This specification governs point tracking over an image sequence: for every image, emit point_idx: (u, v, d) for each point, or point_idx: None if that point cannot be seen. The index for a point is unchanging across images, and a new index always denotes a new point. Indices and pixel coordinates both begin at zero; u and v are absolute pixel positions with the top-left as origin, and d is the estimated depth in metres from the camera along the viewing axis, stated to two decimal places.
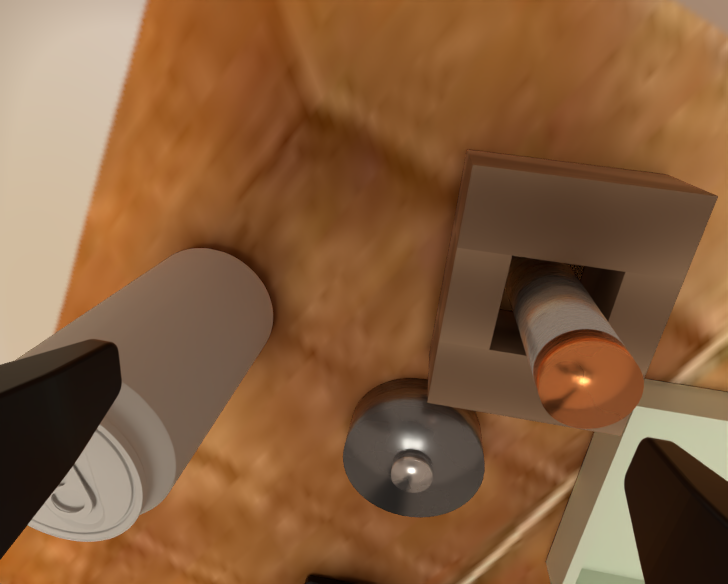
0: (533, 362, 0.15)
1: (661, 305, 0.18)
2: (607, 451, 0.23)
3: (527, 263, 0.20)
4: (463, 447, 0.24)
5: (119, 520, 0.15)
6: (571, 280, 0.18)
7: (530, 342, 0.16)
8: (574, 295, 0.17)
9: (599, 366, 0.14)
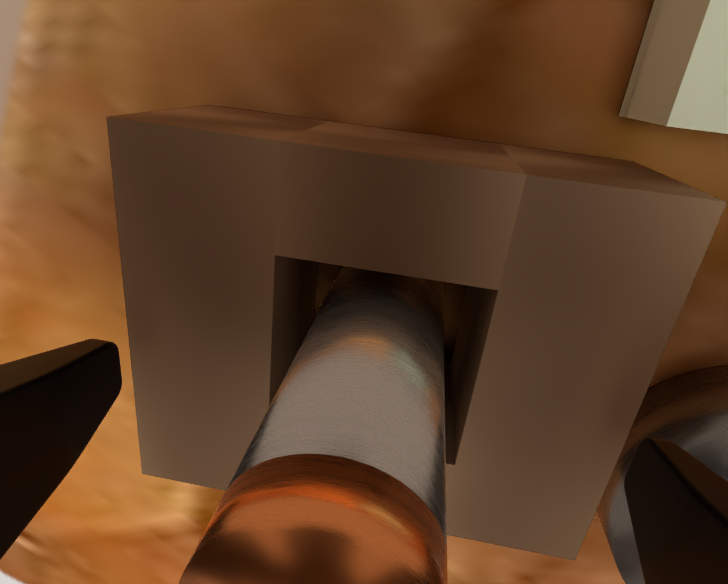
0: None
1: (341, 174, 0.08)
2: None
3: None
4: None
5: None
6: None
7: None
8: None
9: None
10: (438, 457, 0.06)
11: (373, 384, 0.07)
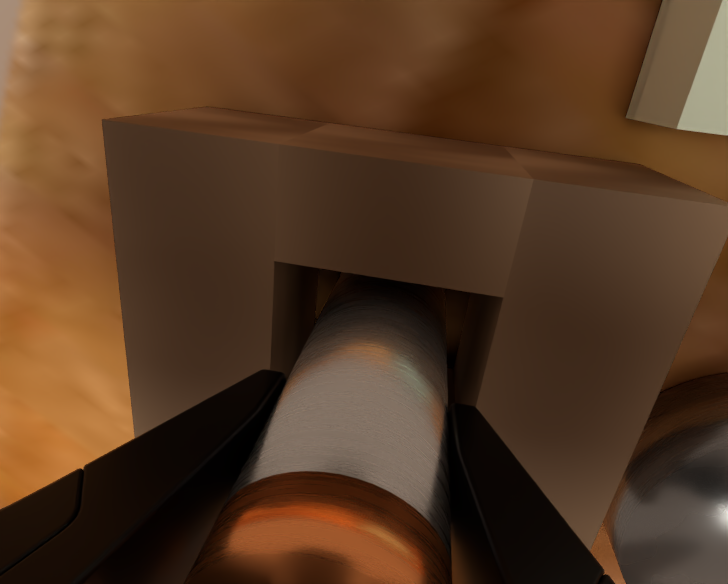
0: None
1: (342, 178, 0.08)
2: None
3: None
4: None
5: None
6: None
7: None
8: None
9: None
10: (442, 472, 0.06)
11: (375, 396, 0.06)
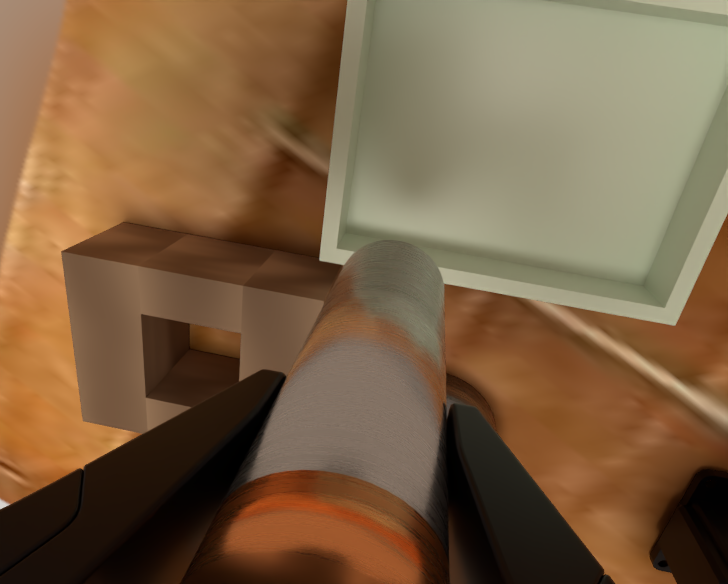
0: None
1: (166, 281, 0.18)
2: None
3: None
4: None
5: None
6: None
7: None
8: None
9: None
10: (440, 471, 0.06)
11: (373, 395, 0.06)
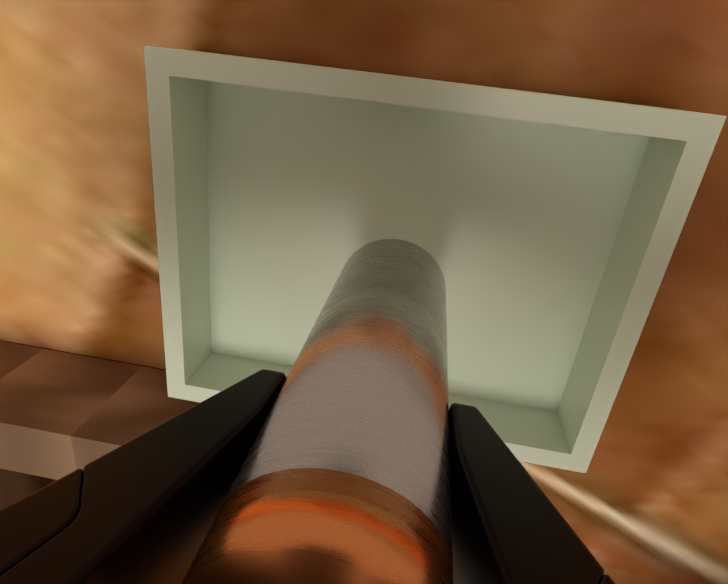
0: None
1: None
2: None
3: None
4: None
5: None
6: None
7: None
8: None
9: None
10: (443, 469, 0.06)
11: (376, 393, 0.06)
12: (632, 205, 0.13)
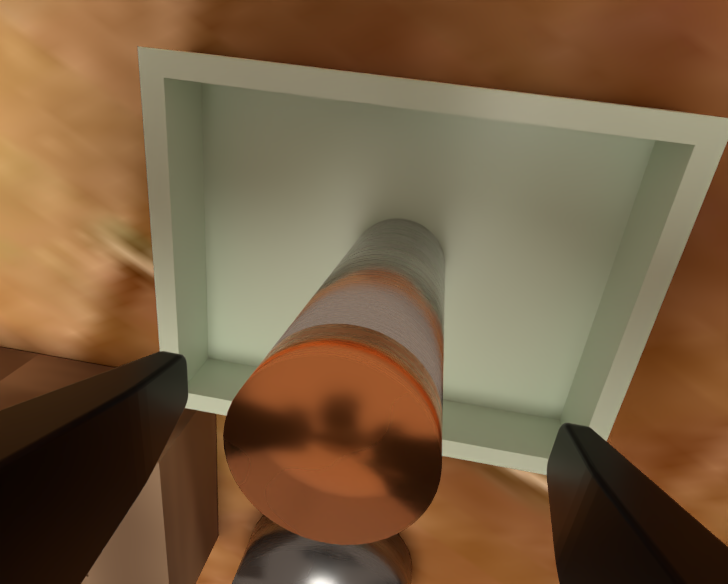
0: None
1: None
2: None
3: None
4: (278, 568, 0.18)
5: None
6: None
7: None
8: None
9: (270, 443, 0.06)
10: (436, 352, 0.08)
11: (383, 293, 0.08)
12: (637, 210, 0.13)
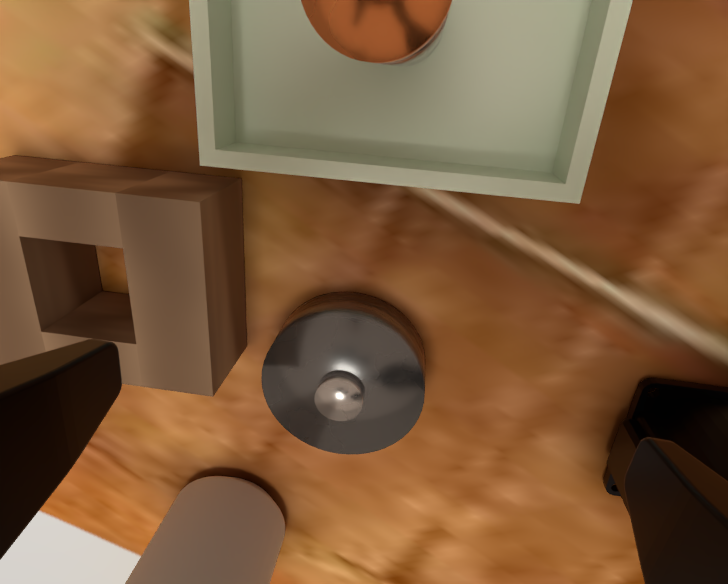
0: None
1: (37, 195, 0.17)
2: None
3: None
4: (305, 339, 0.20)
5: None
6: None
7: None
8: None
9: None
10: None
11: None
12: None
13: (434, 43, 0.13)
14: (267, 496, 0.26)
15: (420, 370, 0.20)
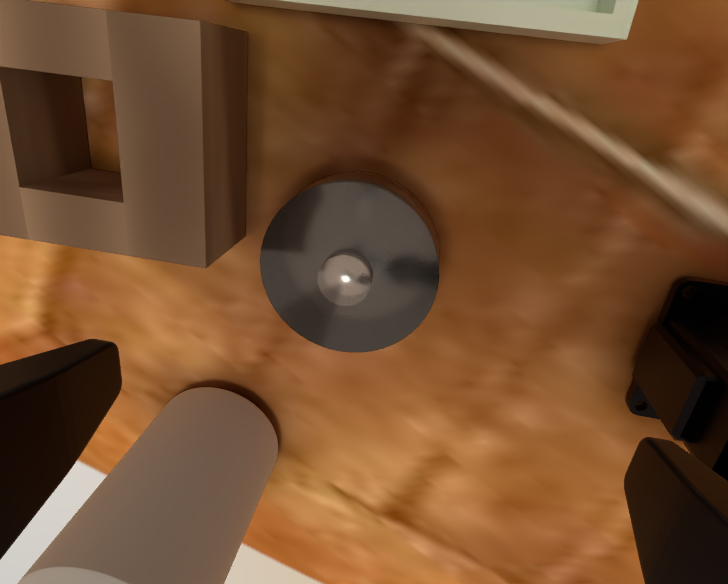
0: None
1: (19, 14, 0.15)
2: (304, 5, 0.16)
3: None
4: (310, 211, 0.18)
5: None
6: None
7: None
8: None
9: None
10: None
11: None
12: None
13: None
14: (260, 411, 0.24)
15: (435, 250, 0.18)
